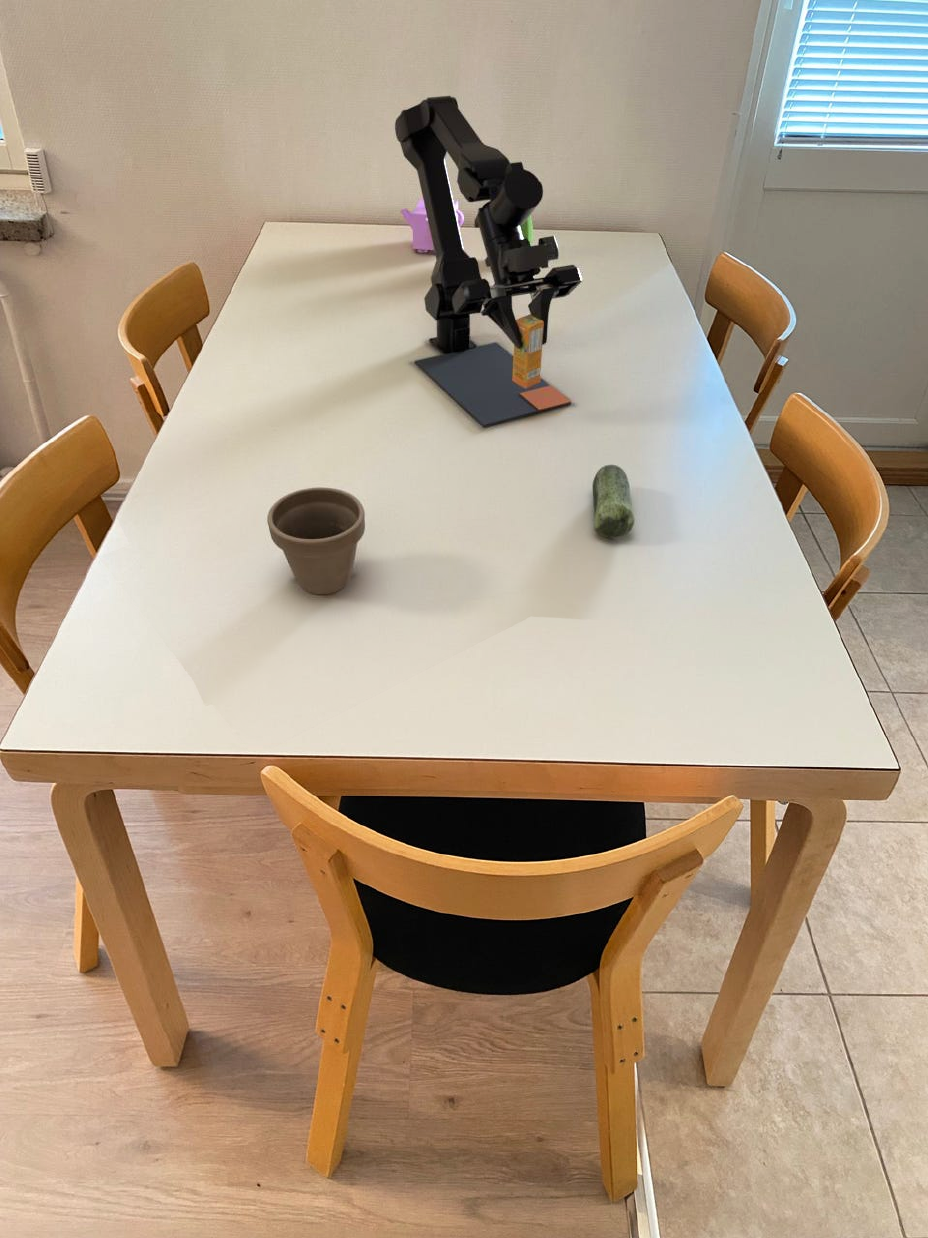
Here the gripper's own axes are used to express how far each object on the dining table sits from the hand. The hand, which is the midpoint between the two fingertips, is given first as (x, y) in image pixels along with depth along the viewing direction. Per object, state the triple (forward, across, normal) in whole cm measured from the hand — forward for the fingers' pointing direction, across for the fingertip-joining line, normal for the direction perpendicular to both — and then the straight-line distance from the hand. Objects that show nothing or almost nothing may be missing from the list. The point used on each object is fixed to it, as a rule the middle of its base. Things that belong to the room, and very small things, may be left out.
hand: (532, 345), depth 141 cm
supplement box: (+4, 0, +6) cm, 7 cm away
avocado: (-34, +27, +54) cm, 69 cm away
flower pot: (+26, -40, -8) cm, 49 cm away
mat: (-1, 0, +19) cm, 19 cm away
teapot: (-42, +14, +62) cm, 76 cm away
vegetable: (+28, 0, -9) cm, 29 cm away
